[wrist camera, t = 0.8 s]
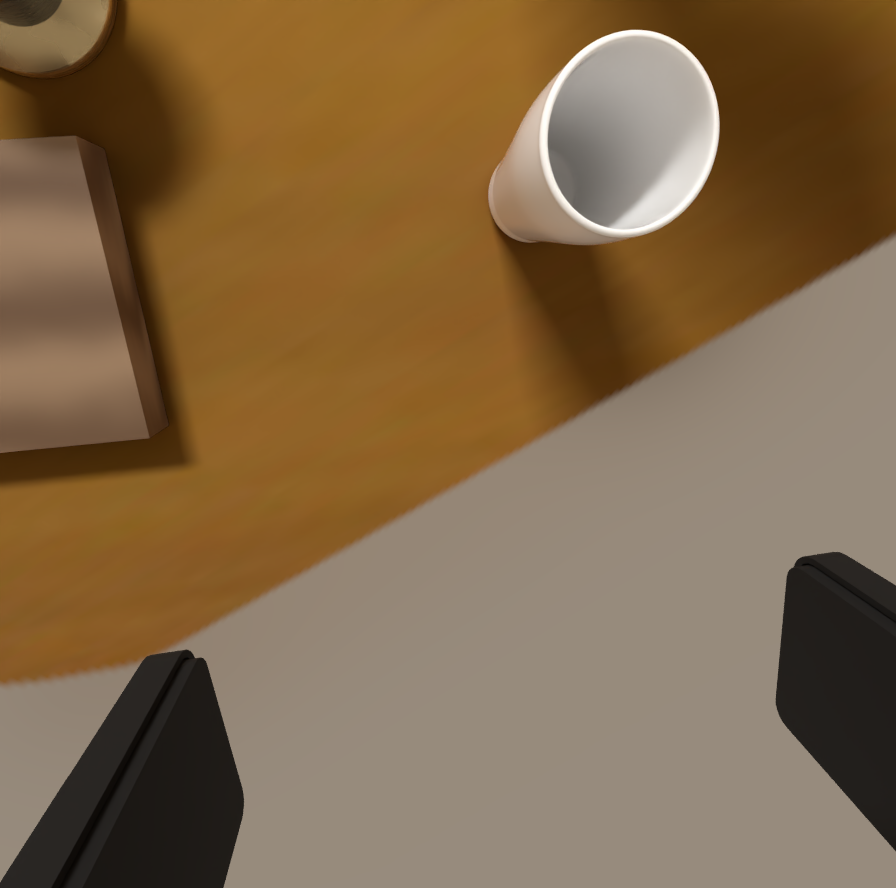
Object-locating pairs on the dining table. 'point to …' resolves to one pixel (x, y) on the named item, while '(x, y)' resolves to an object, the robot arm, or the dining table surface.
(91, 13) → the bobbin
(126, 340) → the notched board
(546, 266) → the dining table surface
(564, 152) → the drinking glass
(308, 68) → the dining table surface
